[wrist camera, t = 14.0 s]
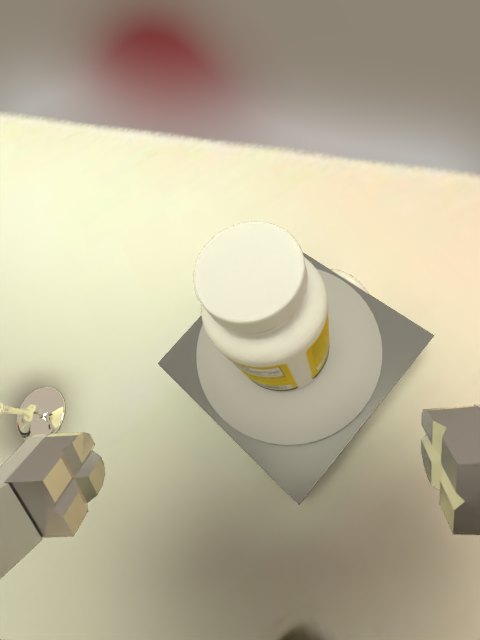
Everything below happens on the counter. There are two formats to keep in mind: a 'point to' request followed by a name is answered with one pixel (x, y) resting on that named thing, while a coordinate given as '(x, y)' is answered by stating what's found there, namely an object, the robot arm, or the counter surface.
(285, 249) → the supplement bottle
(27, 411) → the wineglass
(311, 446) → the kitchen scale
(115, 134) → the counter surface
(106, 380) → the counter surface
